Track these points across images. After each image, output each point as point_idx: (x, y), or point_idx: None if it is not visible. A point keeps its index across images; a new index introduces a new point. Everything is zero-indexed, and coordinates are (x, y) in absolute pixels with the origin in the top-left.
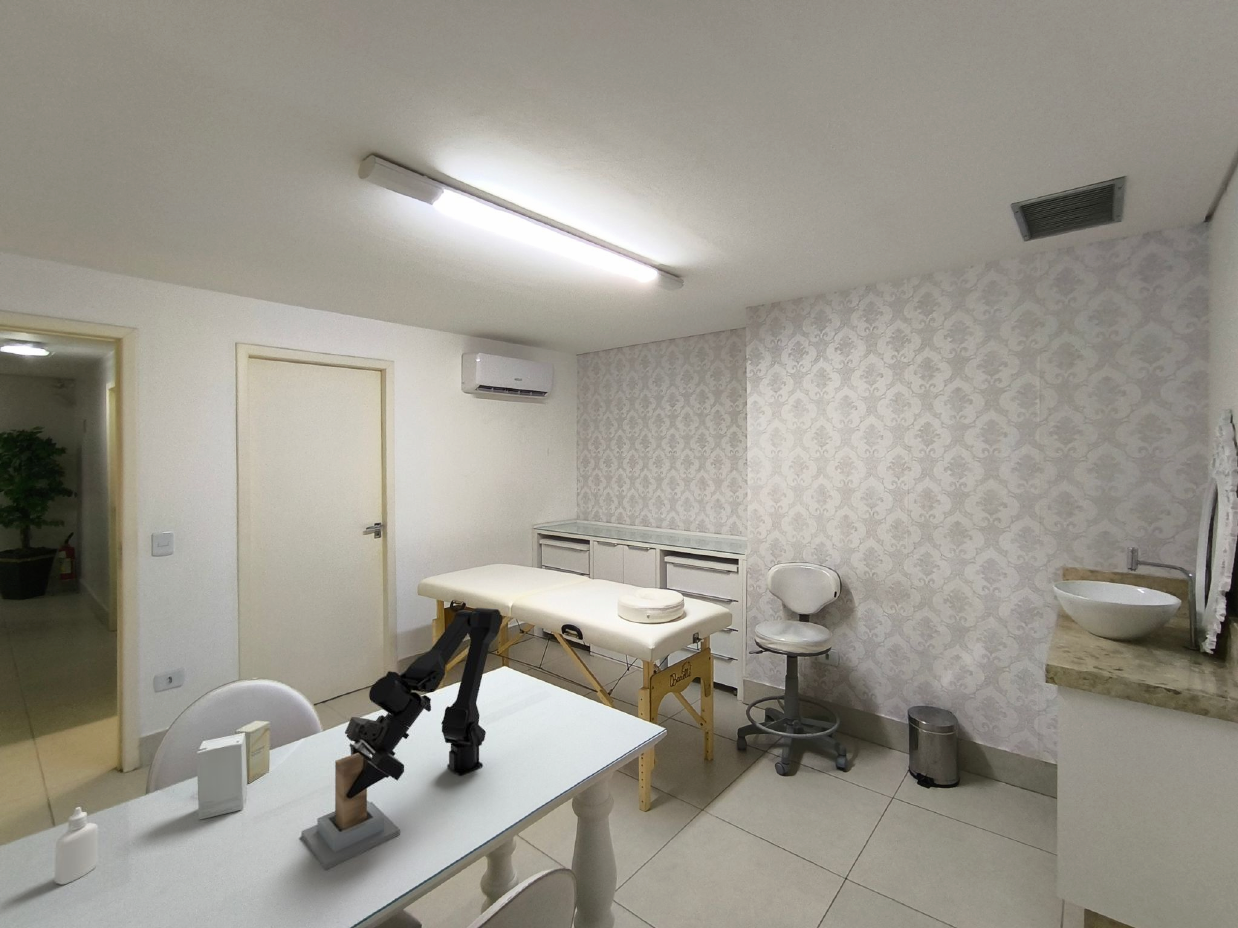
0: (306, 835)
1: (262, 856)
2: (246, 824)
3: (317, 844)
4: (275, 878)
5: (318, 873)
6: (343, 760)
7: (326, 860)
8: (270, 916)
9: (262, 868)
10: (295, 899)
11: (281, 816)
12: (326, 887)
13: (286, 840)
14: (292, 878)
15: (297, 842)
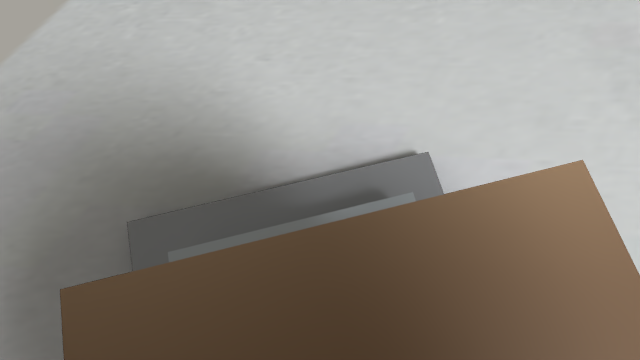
0: (384, 167)
1: (358, 47)
2: (586, 7)
3: (290, 201)
4: (202, 78)
5: (131, 201)
6: (518, 327)
7: (152, 227)
8: (12, 63)
9: (286, 46)
10: (38, 127)
11: (598, 102)
12: (23, 221)
13: (418, 113)
14: (165, 123)
15: (384, 145)
